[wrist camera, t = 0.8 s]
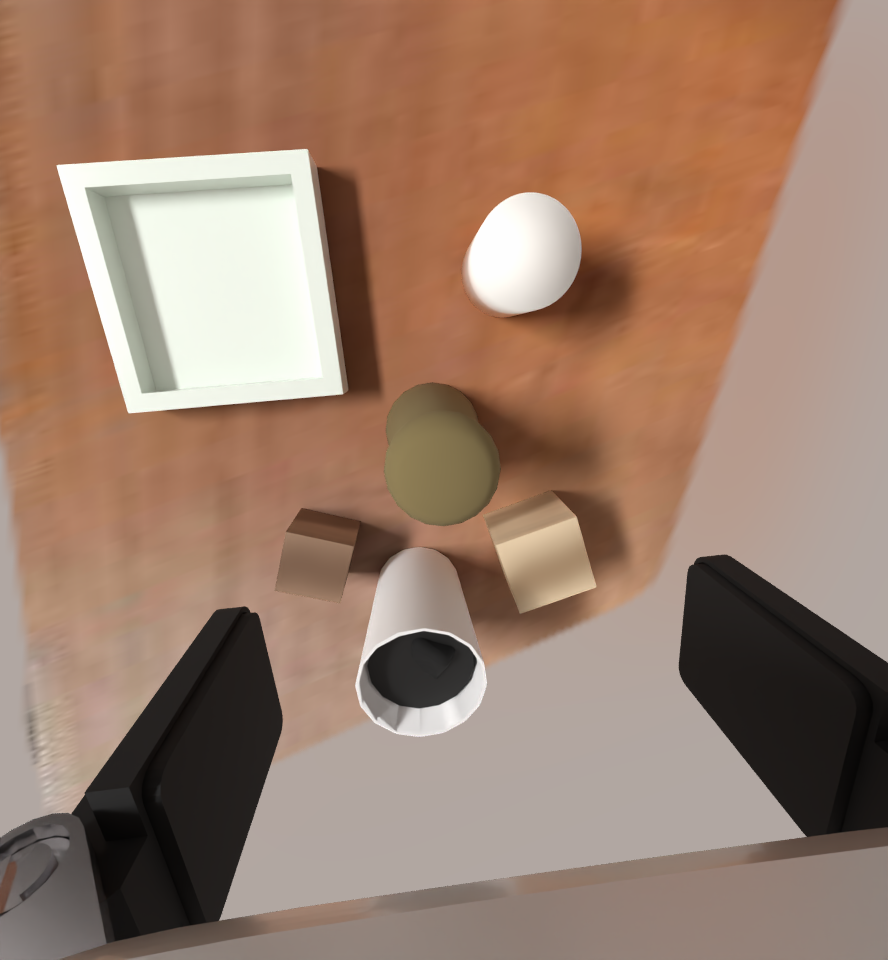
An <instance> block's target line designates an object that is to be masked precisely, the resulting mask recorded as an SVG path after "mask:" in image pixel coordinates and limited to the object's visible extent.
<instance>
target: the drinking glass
mask: <svg viewBox="0 0 888 960" xmlns="http://www.w3.org/2000/svg"><path fill="white" fill-rule="evenodd" d="M486 686H487V681H486V673H485V666H484V661H483V658H482V655H481V651H480V648H479V645H478V641H477V638H476V635H475V631H474V628H473V625H472V621H471V618H470V615H469V611H468V608H467V605H466V601H465V598H464V594H463V591H462V588H461V584H460V581H459V578H458V574H457V571H456V569H455V567H454V566H453V564H452V563H451V561H450V560H449V558H447V557H446V556H444V555H443V554H441V553H440V552H438V551H436V550H434V549H429V548H424V547H415V548H409V549H404V550H402V551H400V552H399V553H397V554H395V555H393V556H392V557H390V558H389V560H388V561H387V562H386V564H385V565H384V566H383V567H382V569H381V572H380V576H379V580H378V585H377V590H376V594H375V599H374V603H373V608H372V612H371V617H370V621H369V626H368V630H367V635H366V639H365V644H364V648H363V653H362V657H361V662H360V666H359V671H358V675H357V680H356V684H355V687H356V691H357V695H358V698H359V702H360V706H361V707H362V709H363V710H364V711H365V712H366V713H367V714H368V716H369V717H370V718H371V719H372V720H373V722H374V723H376V724H378V725H380V726H382V727H384V728H386V729H387V730H389V731H391V732H393V733H395V734H402V735H410V736H417V737H422V736H427V735H433V734H439V733H444V732H446V731H448V730H450V729H452V728H454V727H455V726H457V725H459V724H461V723H463V722H465V721H466V720H467V719H468V718H469V716H470V715H471V714H472V713H473V712H474V711H475V710H476V708H478V706H479V705H480V704H481V701H482V698H483V695H484V692H485V689H486Z"/></svg>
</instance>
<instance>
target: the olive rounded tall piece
mask: <svg viewBox="0 0 888 960" xmlns="http://www.w3.org/2000/svg"><path fill="white" fill-rule="evenodd" d="M386 435H387V439H388V444H389V447H388V449H387V452H386V459H385V467H384V474H385V479H386V483H387V488H388V490H389V492H390V493H391V495H392V497H393V499H394V500H395V502H396V504H397V505H398V506H399V507H400V508H401V509H402V510H403V511H405V512H406V513H407V514H408V515H409V516H410V517H412V518H414V519H416V520H418V521H421V522H423V523H425V524H429V525H438V526H448V525H453V524H459V523H462V522H464V521H466V520H468V519H470V518H472V517H474V516H476V515H477V514H478V513H479V512H480V511H481V510H482V509H483V508H484V507H486V506H487V505H488V504H489V502H490V500H491V498H492V496H493V495H494V493H495V491H496V489H497V485H498V480H499V475H500V470H501V468H500V460H499V452H498V449H497V447H496V445H495V443H494V441H493V439H492V437H491V435H490V434H489V433H488V432H487V431H486V430H485V429H484V428H483V427H482V426H481V425H480V424H479V423H478V418H477V414H476V412H475V410H474V408H473V406H472V404H471V402H470V401H469V400H468V399H467V398H466V397H465V396H464V395H463V394H462V393H461V392H460V391H458V390H456V389H454V388H452V387H450V386H448V385H445V384H439V383H427V384H421V385H417V386H415V387H413V388H411V389H409V390H407V391H405V392H404V393H403V394H402V395H401V396H400V397H399V398H398V399H397V400H396V401H395V402H394V404H393V406H392V408H391V410H390V412H389V414H388V416H387V425H386Z"/></svg>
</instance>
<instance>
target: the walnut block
mask: <svg viewBox="0 0 888 960" xmlns="http://www.w3.org/2000/svg"><path fill="white" fill-rule="evenodd" d="M360 522H361V521H357V520H352V519H348V518H343V517H339V516H334V515H330V514H325V513H321V512H316V511H312V510H307V509H303V508H301V510H300V511H299V513H298V514H297V516H296V517H295V519H294V520H293V522H292V523H291V525H290V526H289V528H288V529H287V531H286V534H285V539H284V545H283V550H282V555H281V560H280V566H279V571H278V576H277V581H276V586H275V591H278V592H283V593H289V594H294V595H299V596H304V597H309V598H314V599H319V600H324V601H329V602H335V603H340V602H341V598H342V595H343V591H344V587H345V584H346V580H347V576H348V572H349V568H350V564H351V560H352V556H353V552H354V547H355V543H356V539H357V535H358V531H359V526H360Z"/></svg>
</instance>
